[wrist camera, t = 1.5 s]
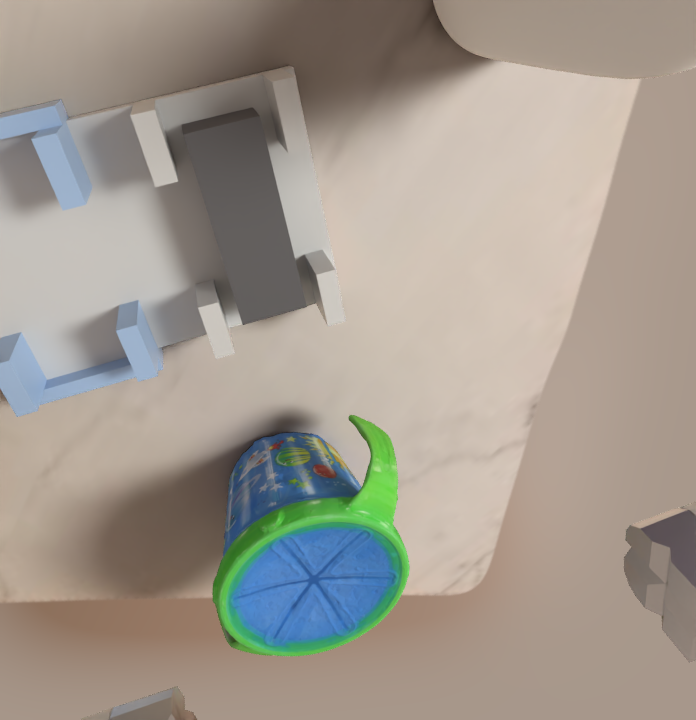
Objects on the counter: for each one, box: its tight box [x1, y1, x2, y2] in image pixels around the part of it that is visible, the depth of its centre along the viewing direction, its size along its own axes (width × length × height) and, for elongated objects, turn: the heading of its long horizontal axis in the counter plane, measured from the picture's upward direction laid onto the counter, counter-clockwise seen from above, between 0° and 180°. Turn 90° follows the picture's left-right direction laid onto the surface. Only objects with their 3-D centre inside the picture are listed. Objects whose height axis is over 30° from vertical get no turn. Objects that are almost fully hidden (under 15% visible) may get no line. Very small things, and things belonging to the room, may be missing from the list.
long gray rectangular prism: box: [181, 107, 307, 325], centre depth 30 cm, size 10×3×3 cm, turn 10°
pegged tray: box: [0, 66, 346, 417], centre depth 30 cm, size 14×18×4 cm
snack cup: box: [213, 415, 409, 656], centre depth 37 cm, size 16×10×10 cm
